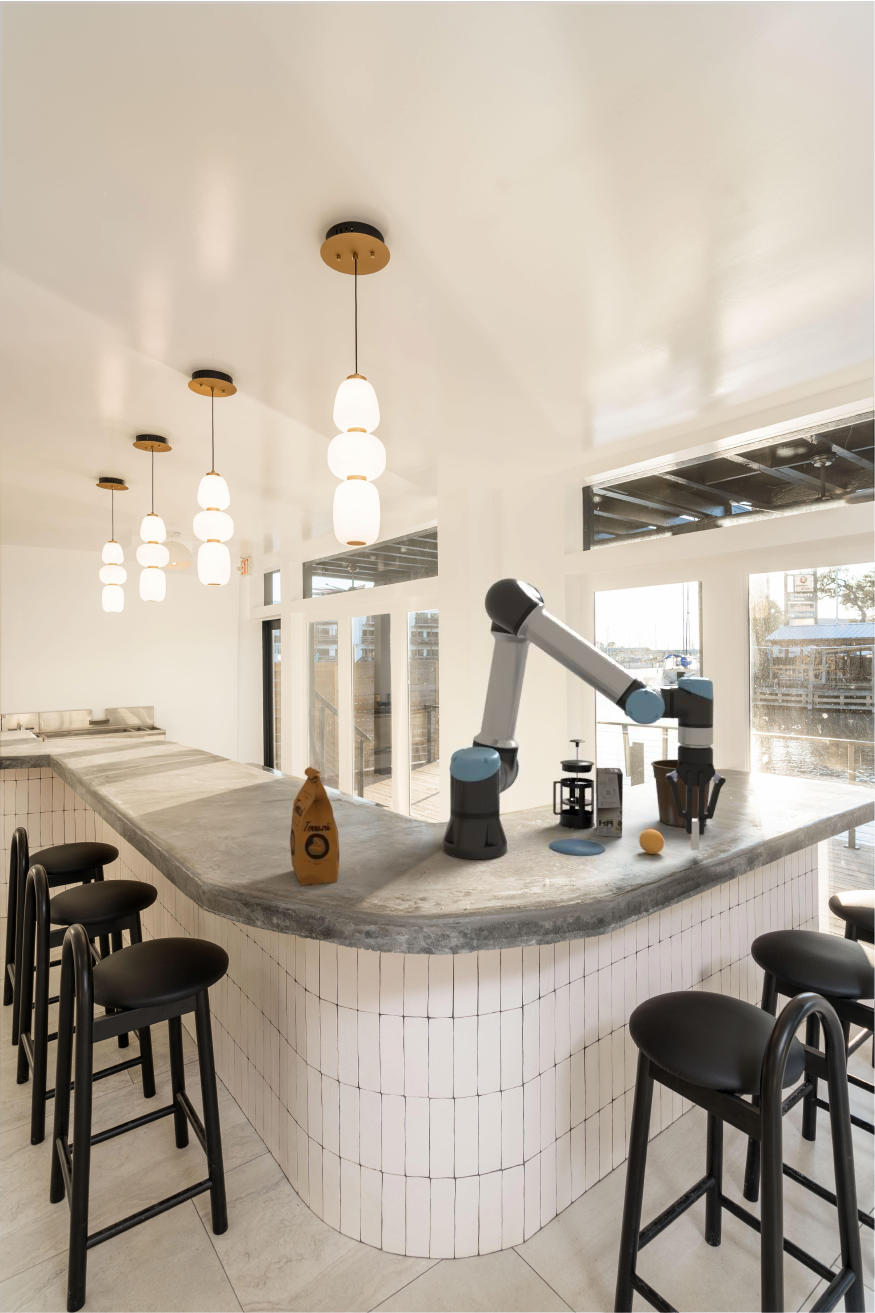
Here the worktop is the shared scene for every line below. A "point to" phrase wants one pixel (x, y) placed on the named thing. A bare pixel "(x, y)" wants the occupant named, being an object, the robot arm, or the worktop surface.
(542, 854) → the worktop surface
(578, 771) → the french press
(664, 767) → the plant pot
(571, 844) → the disc
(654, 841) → the ball
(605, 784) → the coffee box
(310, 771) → the coffee package
